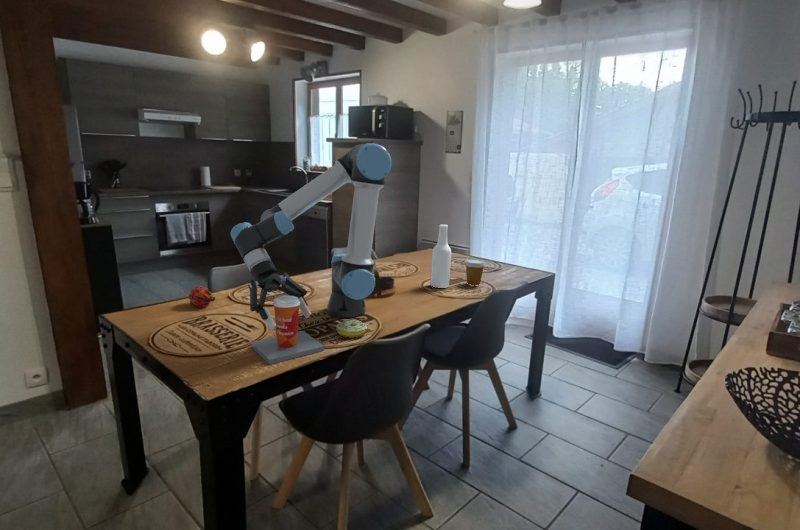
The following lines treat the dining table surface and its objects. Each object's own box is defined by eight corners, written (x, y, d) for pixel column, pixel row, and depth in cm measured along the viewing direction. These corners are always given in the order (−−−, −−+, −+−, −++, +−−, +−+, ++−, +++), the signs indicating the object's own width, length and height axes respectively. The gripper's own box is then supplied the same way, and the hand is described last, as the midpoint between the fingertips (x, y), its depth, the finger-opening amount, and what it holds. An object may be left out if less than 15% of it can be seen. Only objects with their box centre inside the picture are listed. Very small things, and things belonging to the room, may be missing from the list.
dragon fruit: (196, 305, 185) (210, 316, 177) (178, 297, 178) (192, 309, 171) (208, 287, 186) (222, 298, 179) (191, 278, 179) (205, 289, 172)
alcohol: (429, 288, 215) (432, 225, 208) (432, 283, 224) (435, 223, 216) (447, 290, 213) (451, 227, 206) (450, 285, 222) (454, 224, 214)
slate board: (302, 334, 155) (302, 330, 155) (324, 350, 144) (324, 346, 144) (251, 346, 144) (250, 342, 144) (269, 364, 133) (269, 359, 133)
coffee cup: (268, 345, 142) (266, 299, 139) (286, 336, 149) (285, 293, 146) (288, 351, 139) (288, 305, 135) (306, 342, 146) (306, 298, 142)
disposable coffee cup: (486, 286, 222) (488, 263, 219) (469, 288, 218) (471, 264, 215) (476, 281, 230) (478, 258, 227) (460, 282, 227) (461, 259, 224)
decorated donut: (371, 331, 162) (372, 321, 161) (358, 341, 152) (358, 331, 151) (345, 325, 165) (346, 316, 165) (331, 336, 156) (331, 325, 155)
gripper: (286, 266, 158) (316, 317, 152) (220, 279, 138) (252, 339, 133) (296, 253, 153) (327, 306, 148) (229, 265, 134) (262, 326, 129)
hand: (291, 321), depth 141 cm, fingers open, 13 cm apart
